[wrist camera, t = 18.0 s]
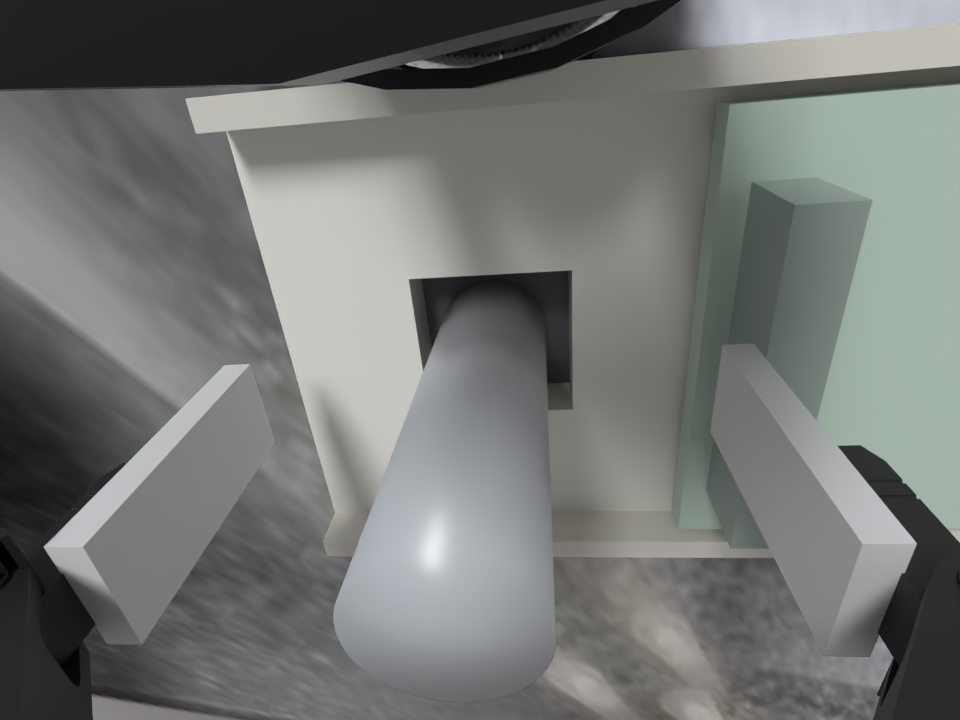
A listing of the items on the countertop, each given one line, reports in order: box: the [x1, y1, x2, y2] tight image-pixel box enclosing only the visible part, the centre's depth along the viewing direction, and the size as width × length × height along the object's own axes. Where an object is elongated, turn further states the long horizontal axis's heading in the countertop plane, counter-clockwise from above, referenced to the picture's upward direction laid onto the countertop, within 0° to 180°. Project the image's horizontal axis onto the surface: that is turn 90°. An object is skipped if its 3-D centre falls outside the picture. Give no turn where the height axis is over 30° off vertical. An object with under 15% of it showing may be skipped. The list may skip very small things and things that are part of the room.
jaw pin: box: [333, 279, 556, 702], centre depth 14 cm, size 4×4×12 cm
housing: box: [185, 23, 960, 558], centre depth 17 cm, size 24×16×4 cm, turn 95°
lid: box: [672, 81, 960, 549], centre depth 15 cm, size 10×14×4 cm
